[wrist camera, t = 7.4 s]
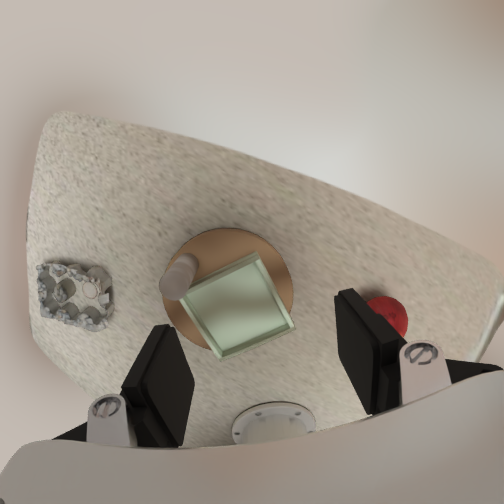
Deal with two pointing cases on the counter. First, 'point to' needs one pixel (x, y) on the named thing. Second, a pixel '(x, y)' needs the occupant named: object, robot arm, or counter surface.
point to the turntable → (228, 292)
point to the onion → (391, 312)
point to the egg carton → (67, 288)
